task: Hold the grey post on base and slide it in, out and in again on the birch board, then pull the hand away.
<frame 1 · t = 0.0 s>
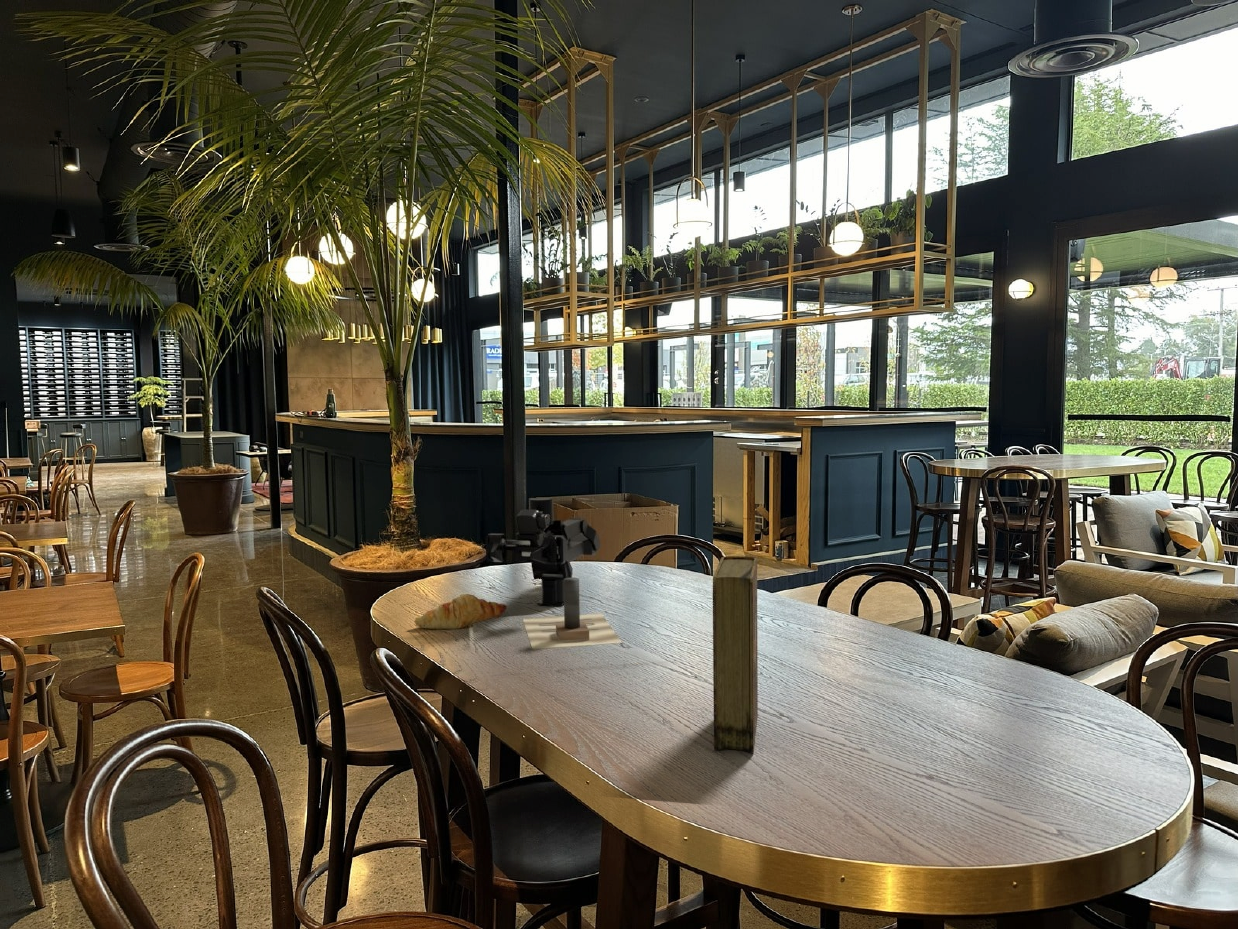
hand: (511, 555, 181), 17 cm above the table, tool horizontal, fingers open, 9 cm apart
book: (737, 733, 125), on the table
grey post on base: (572, 636, 174), point 1 cm above the table, touching birch board
croissant: (461, 624, 190), on the table
birch board: (569, 634, 179), on the table
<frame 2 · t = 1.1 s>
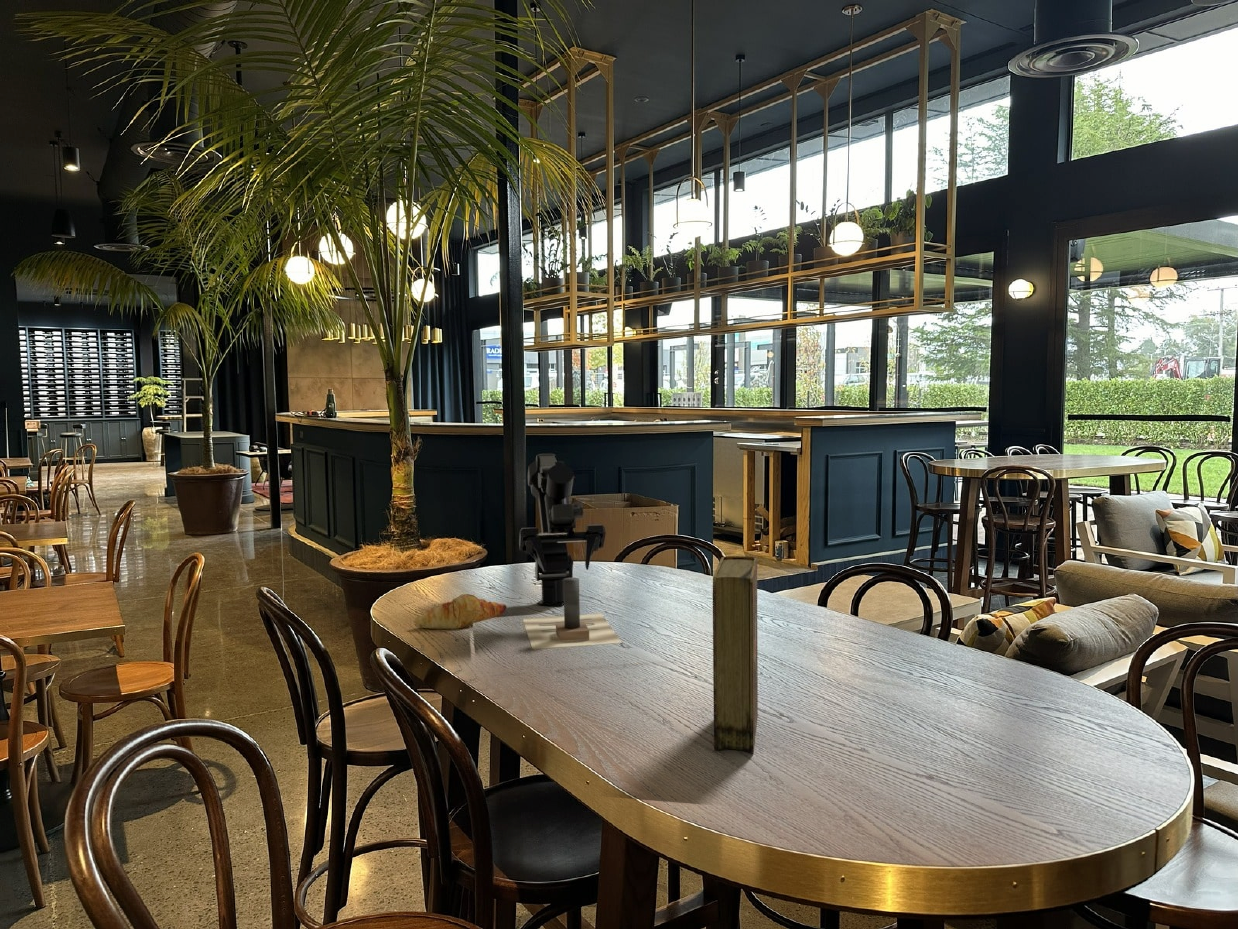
hand: (566, 569, 180), 14 cm above the table, tool tilted 45°, fingers open, 9 cm apart
nothing on the table moved.
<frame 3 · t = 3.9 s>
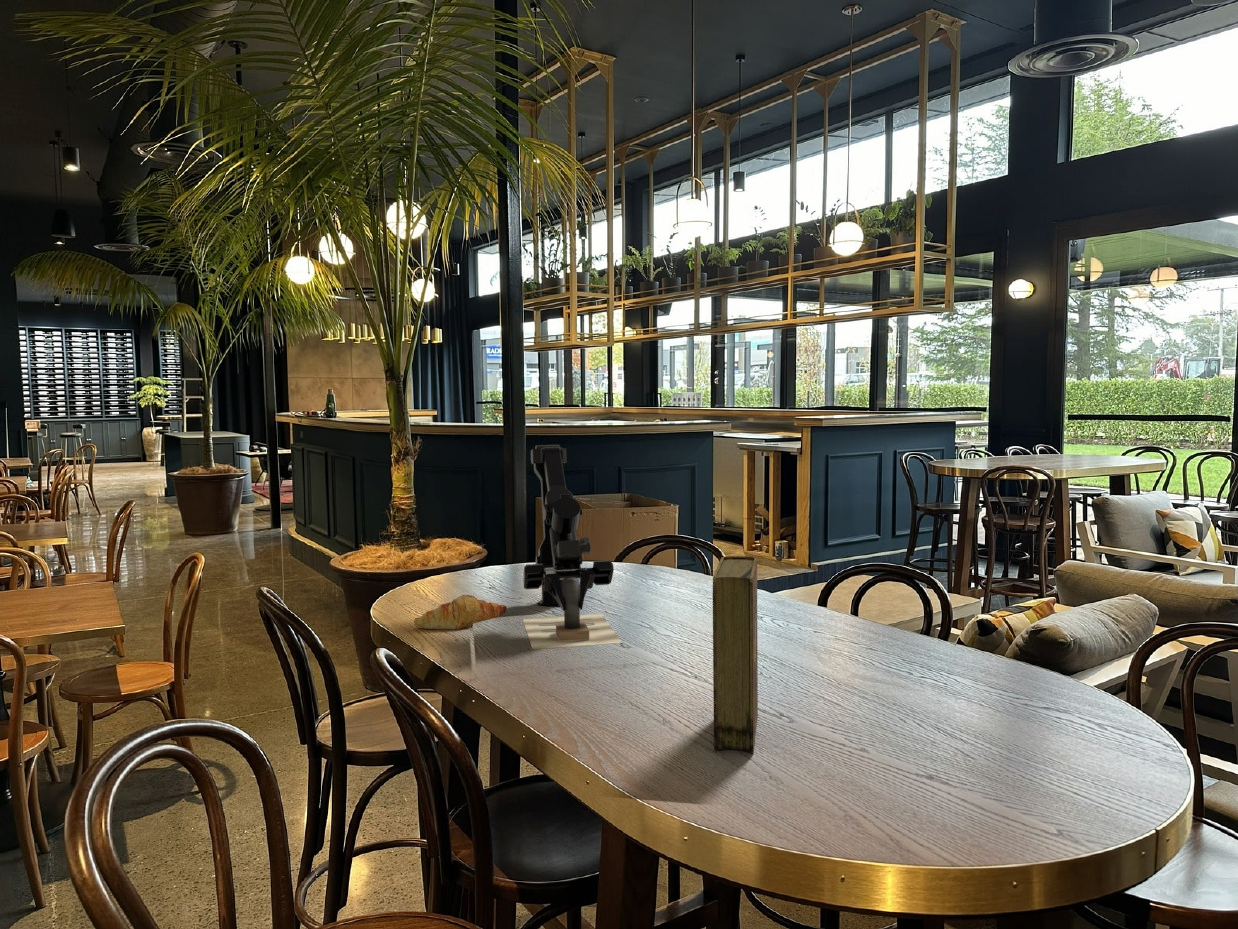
hand: (572, 609, 172), 7 cm above the table, tool tilted 45°, fingers closed on grey post on base, 3 cm apart
grey post on base: (572, 636, 174), point 1 cm above the table, touching birch board, gripper
everything else where it was.
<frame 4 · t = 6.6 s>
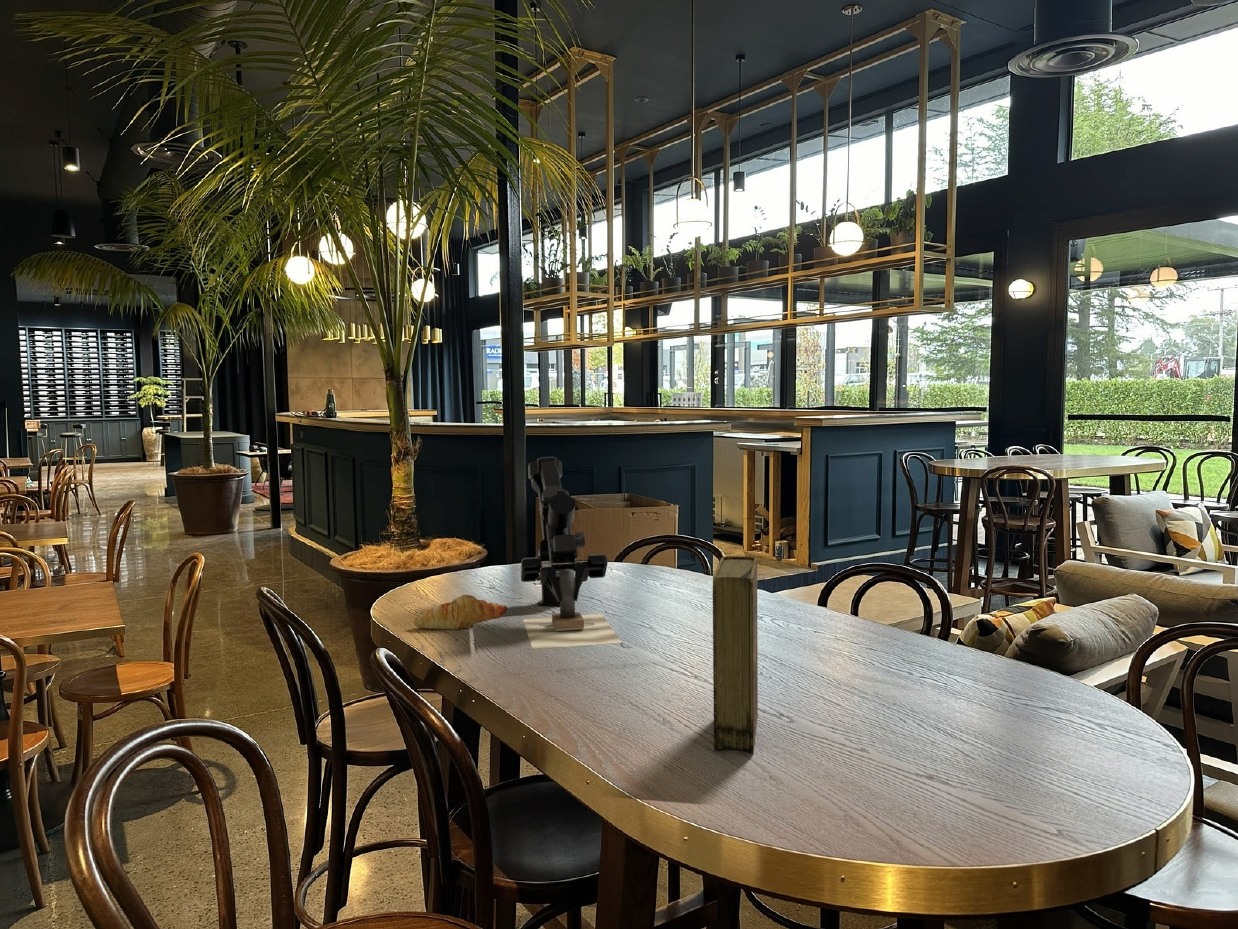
hand: (568, 600, 179), 7 cm above the table, tool tilted 45°, fingers closed on grey post on base, 3 cm apart
grey post on base: (567, 625, 181), point 1 cm above the table, touching gripper
everything else where it was.
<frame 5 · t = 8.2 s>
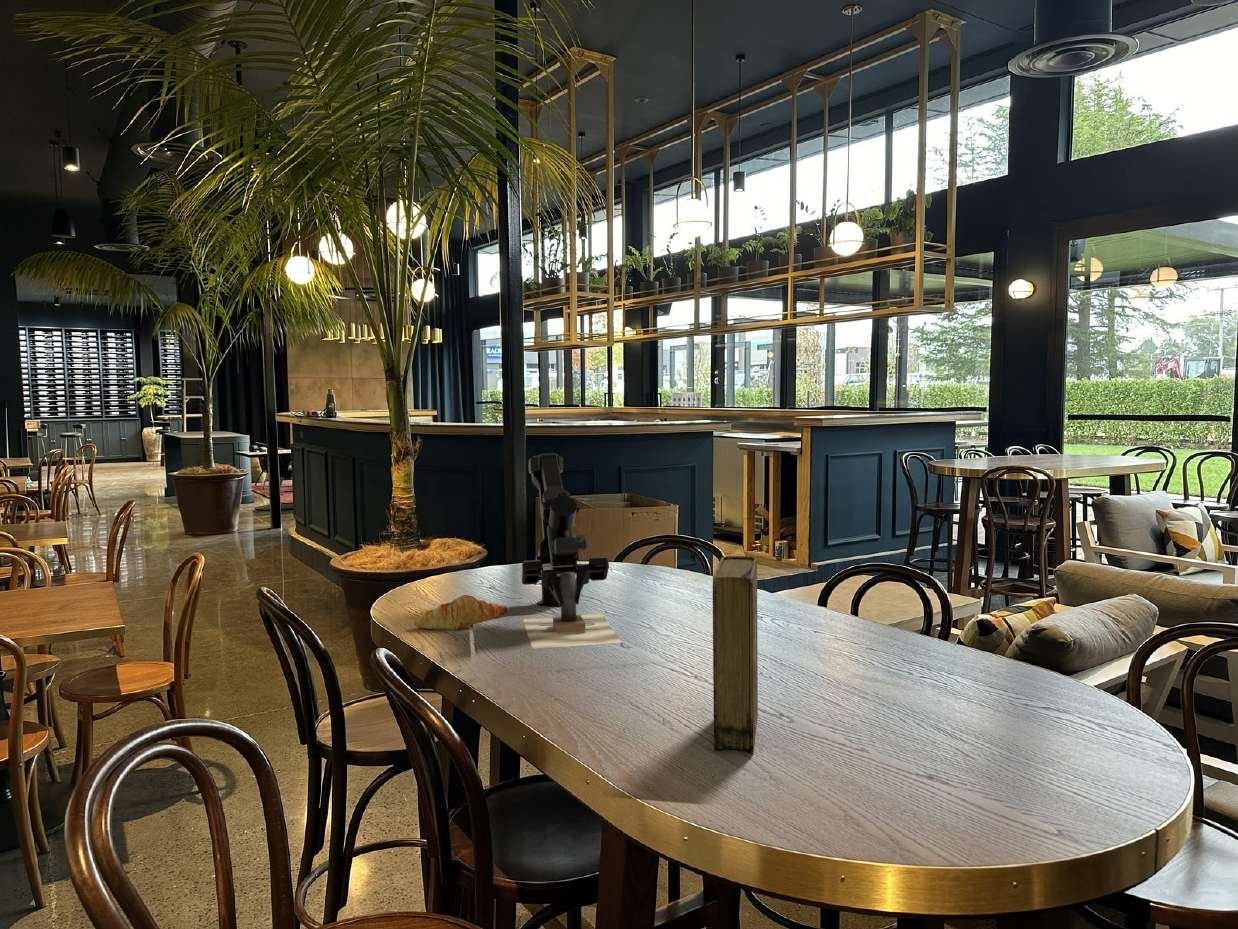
hand: (569, 604, 178), 7 cm above the table, tool tilted 45°, fingers closed on grey post on base, 3 cm apart
grey post on base: (569, 629, 179), point 1 cm above the table, touching gripper
everything else where it was.
when the fingers open (7 cm above the table, at t = 9.4 s): grey post on base stays where it is, resting on birch board.
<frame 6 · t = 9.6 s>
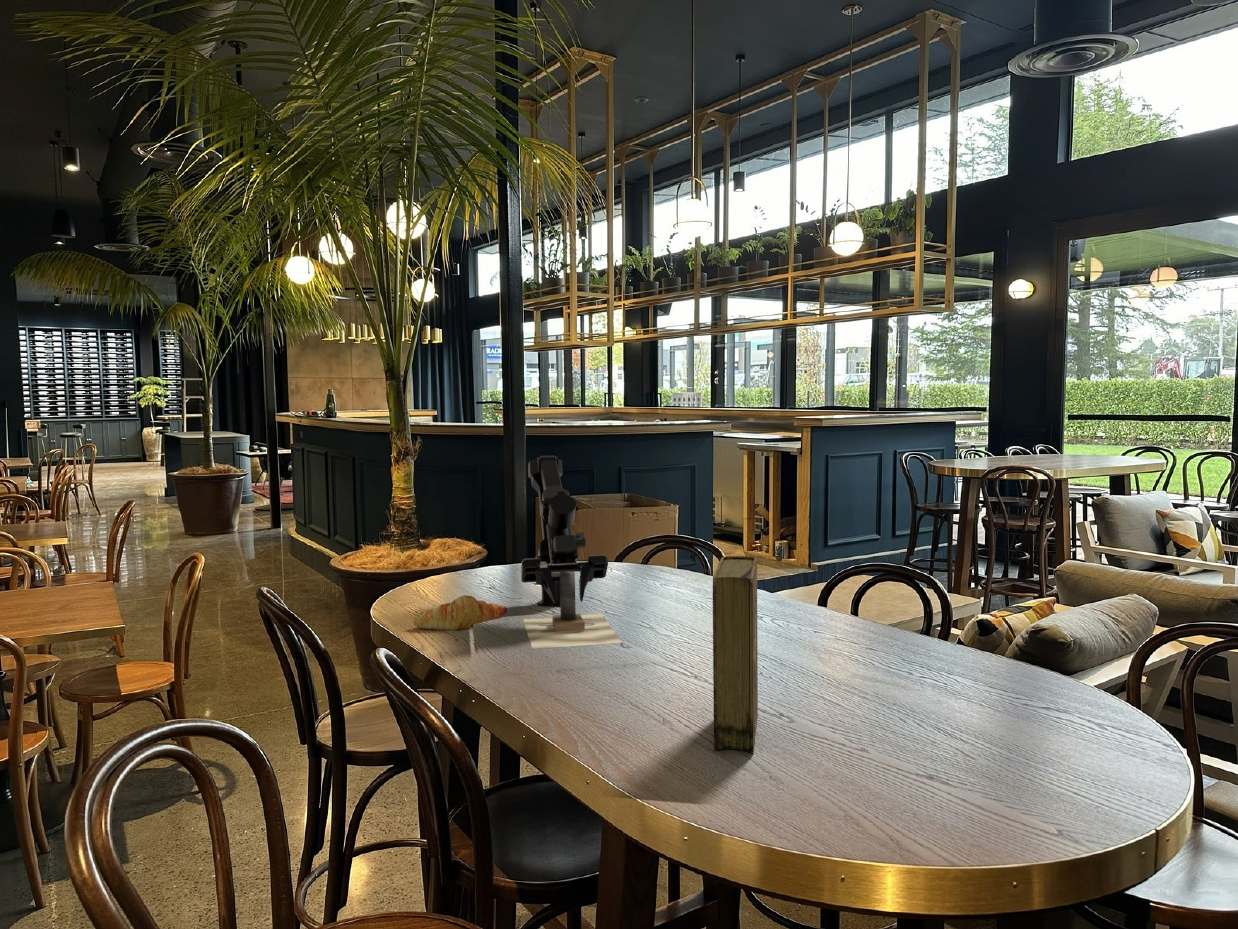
hand: (568, 601, 179), 7 cm above the table, tool tilted 45°, fingers open, 5 cm apart
grey post on base: (568, 627, 180), point 1 cm above the table, touching birch board
everything else where it was.
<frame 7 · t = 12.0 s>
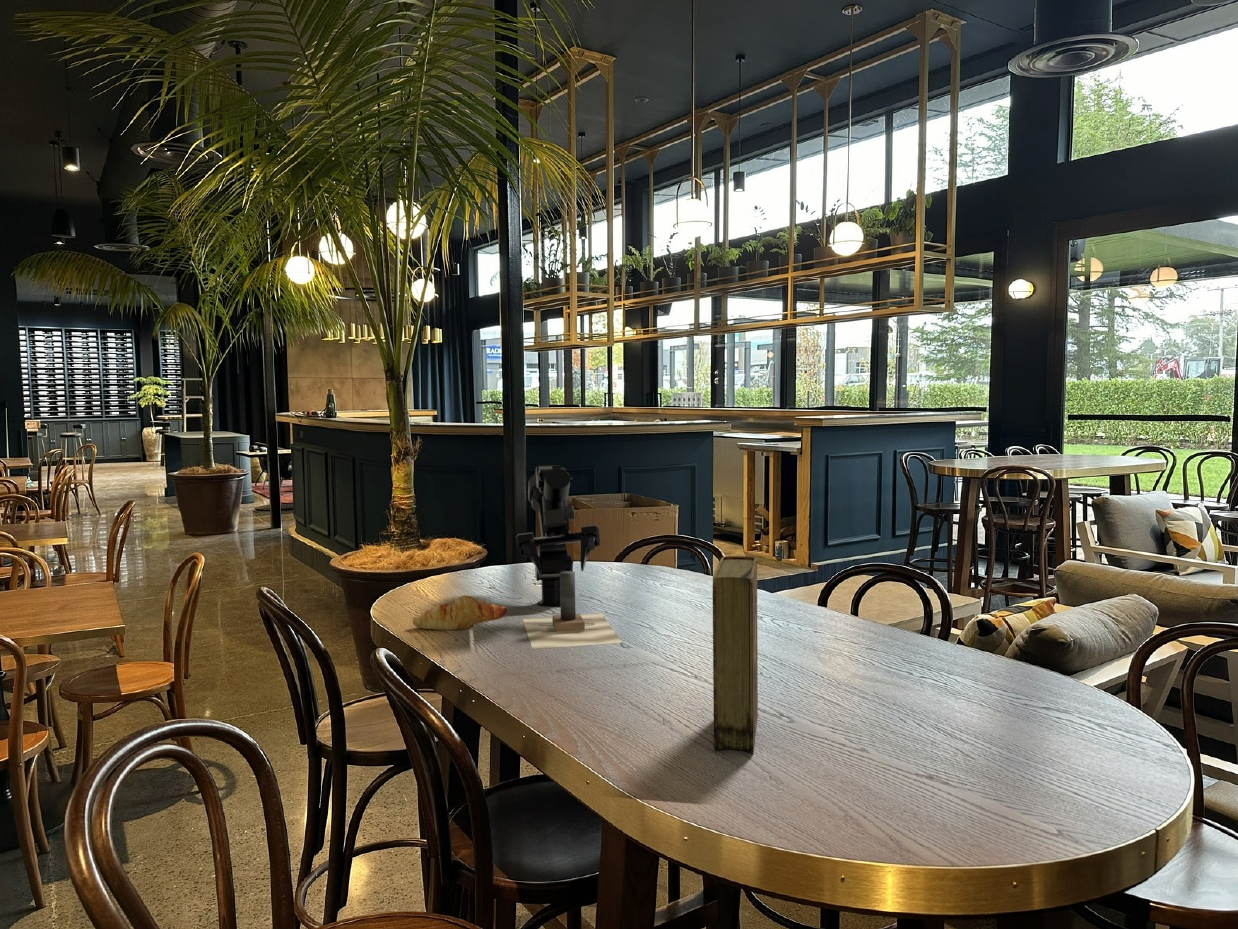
hand: (561, 572, 186), 12 cm above the table, tool tilted 40°, fingers open, 9 cm apart
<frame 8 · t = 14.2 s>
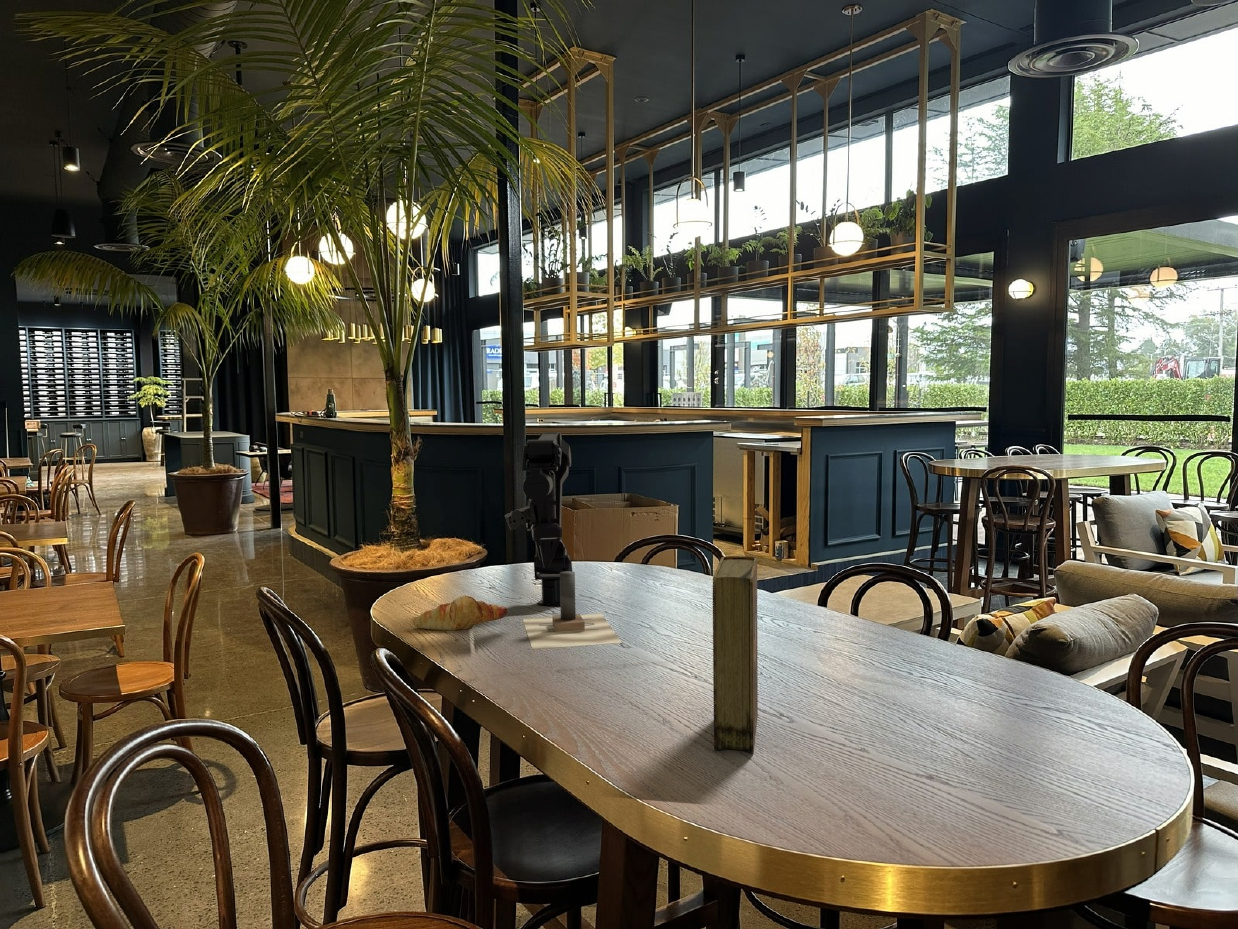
hand: (544, 564, 190), 13 cm above the table, tool pointing down, fingers open, 9 cm apart
at the end: grey post on base inside the target area on the birch board (0.6 cm from its centre), point 1.0 cm above the birch board's base; grey post on base tilted 0°; the gripper is holding nothing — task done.
